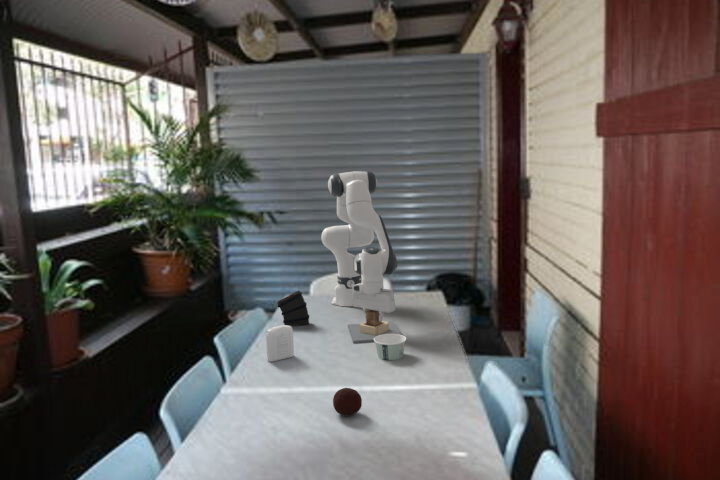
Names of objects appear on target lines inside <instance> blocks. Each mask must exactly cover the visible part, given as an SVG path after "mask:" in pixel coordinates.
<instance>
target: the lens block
mask: <svg viewBox="0 0 720 480" xmlns="http://www.w3.org/2000/svg"><path fill="white" fill-rule="evenodd" d="M379 315H380V314H379V311H376V310H370V309H369V310H368V311H366V317H365V322H366V325H369V326H374V327H376V326H379V325H381V324H382V321H383V320H382V321H377V317H379Z"/></svg>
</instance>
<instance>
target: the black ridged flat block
mask: <svg viewBox="0 0 720 480" xmlns="http://www.w3.org/2000/svg"><path fill="white" fill-rule="evenodd" d="M302 294H303V293H302V292H301V291H300V290H297V291H295V292H293V293H291V294H289V295H288V296H286V297H284V298H282V299H280V300H278V301H277V302H276V304H277V307H278V308H279V309H280V311H281V316H282V317H283V320H282V323H283V325H288V326H291V327H293V326H309V324H310V314H309V312H308V311H309V310H308V307H307V302H306V301H305V297H304V296H303V295H302Z"/></svg>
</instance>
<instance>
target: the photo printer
mask: <svg viewBox="0 0 720 480" xmlns="http://www.w3.org/2000/svg"><path fill="white" fill-rule="evenodd" d="M265 332H266V333H265V338H266V339H265V341H266V357H267V361H268V362H276V361H280V360H285V359H289V358H293V357H294V356H295V353H294V352H295V350H294V348H295V347H294V330H293V326H288V325H284V324H280V325H278V326H273V327H271V328H270V329H267V331H265Z"/></svg>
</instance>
